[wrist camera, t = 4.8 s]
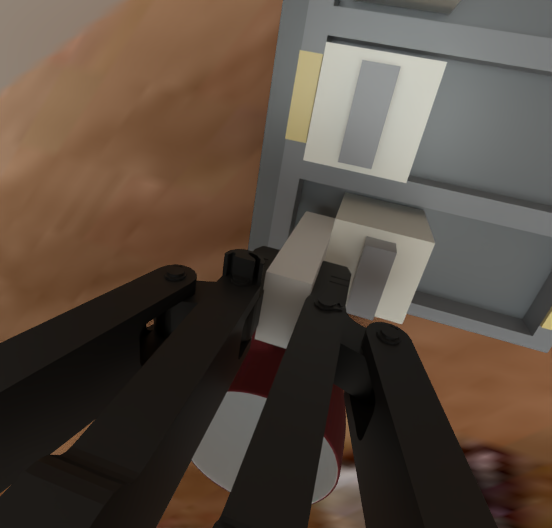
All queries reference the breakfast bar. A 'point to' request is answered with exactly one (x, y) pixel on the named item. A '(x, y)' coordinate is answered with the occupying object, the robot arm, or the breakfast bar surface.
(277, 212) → the switch bank
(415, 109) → the tab
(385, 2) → the white and grey block
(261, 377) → the mug
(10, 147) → the breakfast bar surface
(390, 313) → the tab
